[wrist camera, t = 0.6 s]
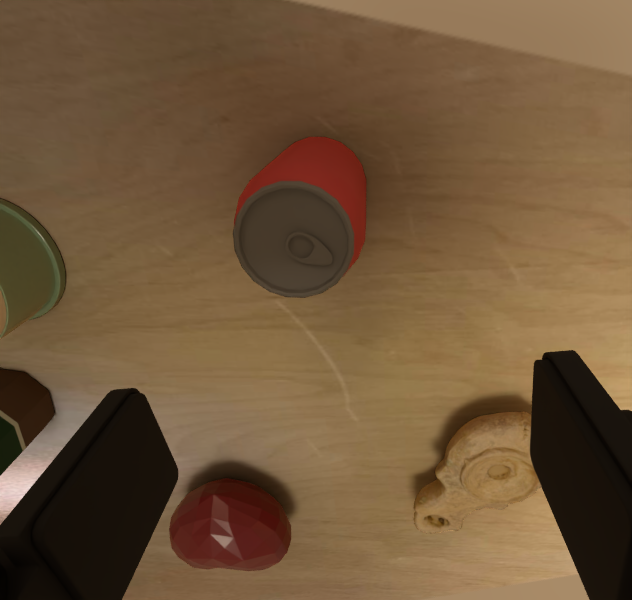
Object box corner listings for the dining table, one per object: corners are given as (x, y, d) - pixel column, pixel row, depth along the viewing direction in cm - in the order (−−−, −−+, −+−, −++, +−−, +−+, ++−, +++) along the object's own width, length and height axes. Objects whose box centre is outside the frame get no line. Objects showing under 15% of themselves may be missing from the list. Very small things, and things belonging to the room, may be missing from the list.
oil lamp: (406, 498, 43) (411, 546, 39) (424, 385, 37) (432, 427, 32) (516, 509, 42) (533, 559, 38) (554, 394, 36) (580, 439, 31)
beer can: (339, 246, 32) (325, 329, 21) (258, 205, 31) (201, 271, 21) (384, 164, 29) (394, 213, 18) (296, 116, 28) (253, 140, 18)
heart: (166, 458, 43) (194, 511, 49) (134, 537, 37) (170, 588, 42) (283, 455, 42) (298, 511, 47) (271, 537, 35) (290, 590, 41)
